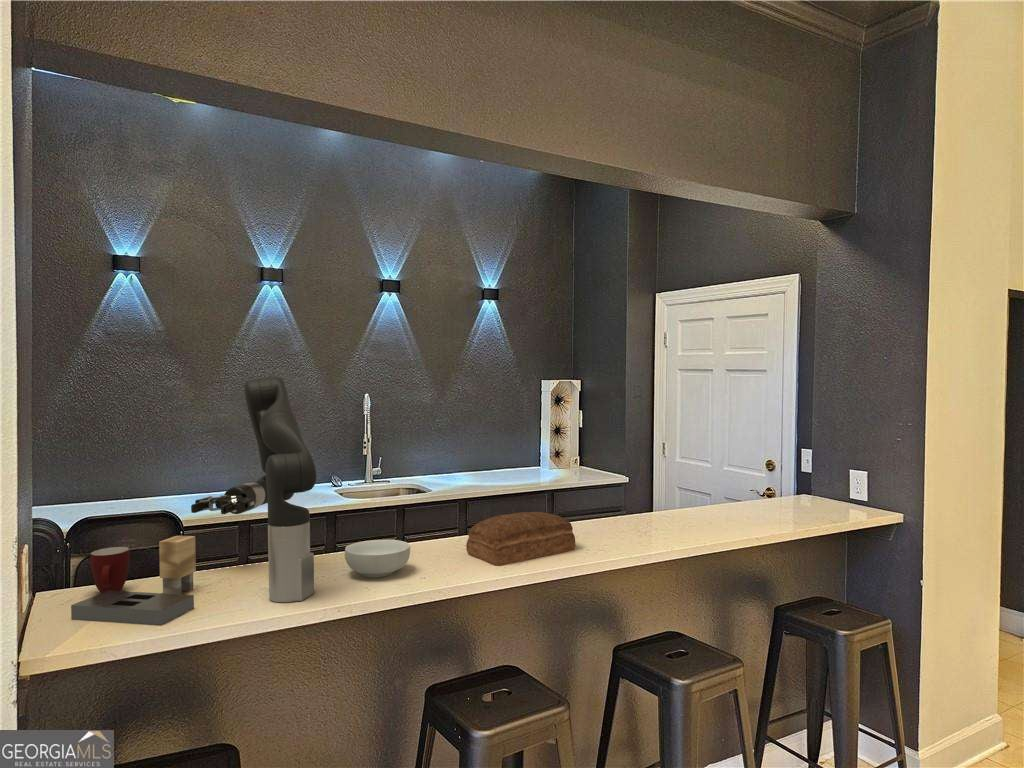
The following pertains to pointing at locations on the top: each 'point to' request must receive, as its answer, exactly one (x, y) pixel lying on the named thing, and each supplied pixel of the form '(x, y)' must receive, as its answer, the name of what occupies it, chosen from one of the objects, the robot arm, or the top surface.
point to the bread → (520, 537)
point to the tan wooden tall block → (177, 563)
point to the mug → (110, 568)
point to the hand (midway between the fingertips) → (207, 509)
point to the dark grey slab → (132, 607)
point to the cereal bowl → (377, 557)
